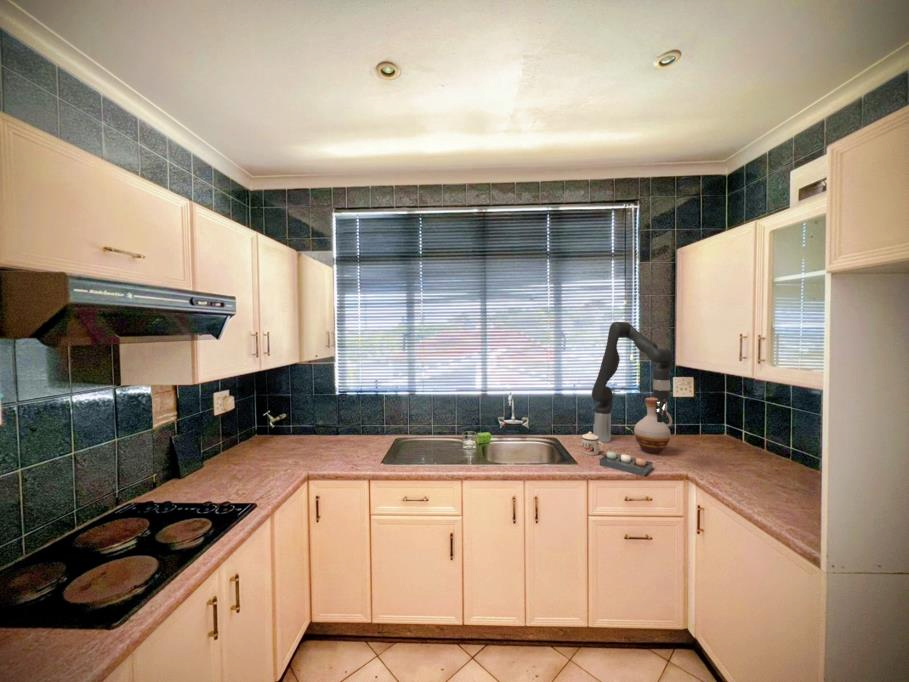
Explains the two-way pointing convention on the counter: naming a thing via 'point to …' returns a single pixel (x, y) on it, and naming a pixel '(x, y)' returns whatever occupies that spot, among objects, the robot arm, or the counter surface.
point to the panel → (626, 465)
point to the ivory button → (626, 458)
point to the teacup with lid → (591, 444)
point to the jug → (652, 430)
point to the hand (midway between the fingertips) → (661, 420)
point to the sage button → (611, 455)
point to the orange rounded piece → (641, 462)
